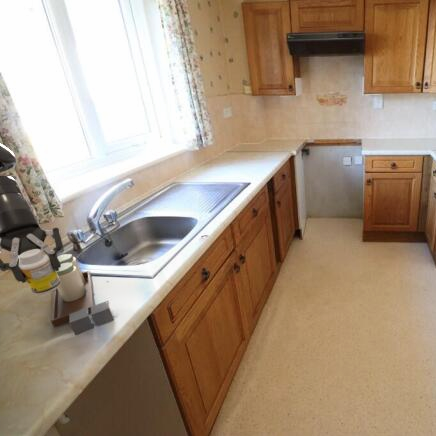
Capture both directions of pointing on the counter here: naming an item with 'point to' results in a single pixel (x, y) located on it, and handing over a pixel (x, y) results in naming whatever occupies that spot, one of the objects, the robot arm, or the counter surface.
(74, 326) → the grey blocks
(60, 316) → the tray
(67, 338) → the counter surface
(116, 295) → the counter surface
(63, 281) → the cream bottles
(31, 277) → the supplement bottle
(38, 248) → the robot arm
